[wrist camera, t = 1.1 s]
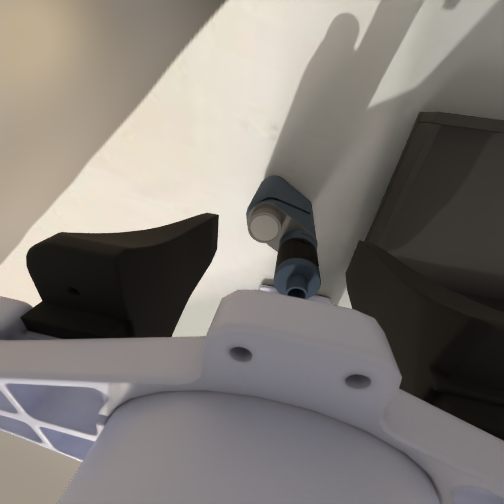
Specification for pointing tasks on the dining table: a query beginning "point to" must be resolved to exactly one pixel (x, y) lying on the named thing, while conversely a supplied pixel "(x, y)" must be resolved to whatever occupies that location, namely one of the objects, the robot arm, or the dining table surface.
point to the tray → (449, 206)
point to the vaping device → (286, 236)
